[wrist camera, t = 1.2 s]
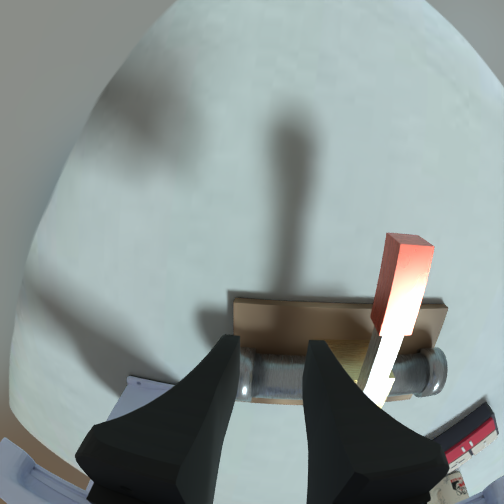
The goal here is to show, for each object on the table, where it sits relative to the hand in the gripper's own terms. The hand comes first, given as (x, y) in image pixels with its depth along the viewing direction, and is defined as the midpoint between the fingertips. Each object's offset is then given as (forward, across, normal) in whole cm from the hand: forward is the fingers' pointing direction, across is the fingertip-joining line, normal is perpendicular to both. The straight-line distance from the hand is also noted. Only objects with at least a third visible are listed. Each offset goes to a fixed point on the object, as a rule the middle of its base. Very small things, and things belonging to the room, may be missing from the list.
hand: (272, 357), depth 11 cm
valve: (+10, -6, +8) cm, 15 cm away
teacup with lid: (+11, -38, +46) cm, 61 cm away
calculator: (+11, -29, +28) cm, 42 cm away
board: (+10, -6, +8) cm, 15 cm away
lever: (+4, -6, +3) cm, 8 cm away
